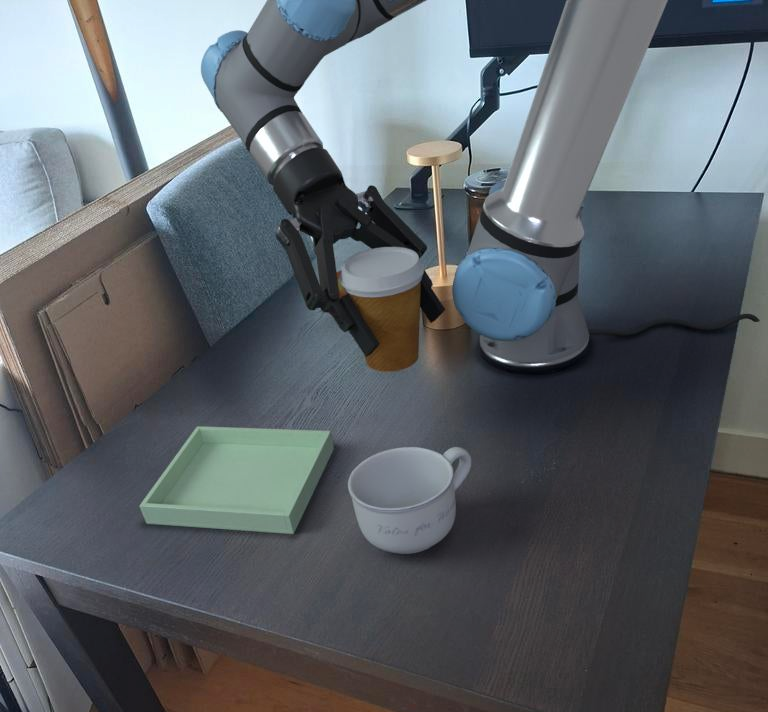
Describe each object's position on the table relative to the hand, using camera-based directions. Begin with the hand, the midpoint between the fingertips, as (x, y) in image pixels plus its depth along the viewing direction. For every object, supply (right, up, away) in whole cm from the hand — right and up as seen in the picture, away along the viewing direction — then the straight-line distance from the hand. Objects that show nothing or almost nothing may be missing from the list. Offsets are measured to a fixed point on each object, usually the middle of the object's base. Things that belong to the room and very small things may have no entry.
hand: (406, 333), depth 86 cm
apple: (-8, +11, +37) cm, 39 cm away
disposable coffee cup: (-2, -2, +5) cm, 6 cm away
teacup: (+1, -22, -4) cm, 23 cm away
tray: (-19, -17, +5) cm, 26 cm away
